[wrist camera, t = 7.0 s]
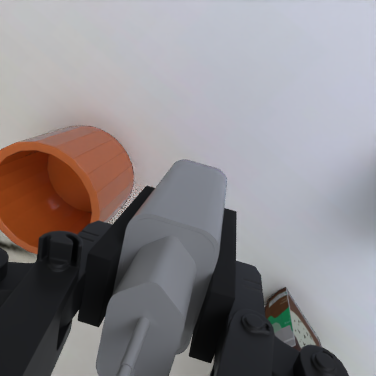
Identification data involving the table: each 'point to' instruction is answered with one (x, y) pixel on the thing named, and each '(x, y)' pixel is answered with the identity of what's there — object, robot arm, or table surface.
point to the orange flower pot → (61, 183)
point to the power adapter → (163, 272)
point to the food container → (289, 321)
